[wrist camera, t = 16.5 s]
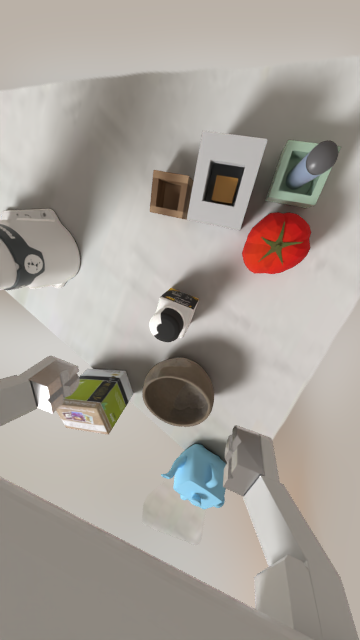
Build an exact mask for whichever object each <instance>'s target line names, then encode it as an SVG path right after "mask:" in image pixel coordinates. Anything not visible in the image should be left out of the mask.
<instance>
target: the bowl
mask: <svg viewBox="0 0 360 640" xmlns="http://www.w3.org/2000/svg"><path fill="white" fill-rule="evenodd" d="M143 400H144V403H145V405H146V406H147V408H148V409H149V410H150V411H151V412H152V413H153V414H154V415H155V416H156V417H158V418H159V419H160V420H162V421H164V422H166V423H168V424H171V425H174V426H184V427H189V426H194V425H197V424H200V423H201V422H203V421H204V420H205V419H206V418H207V417H208V416H209V414H210V413H211V411H212V407H213V403H214V390H213V385H212V382H211V380H210V378H209V376H208V375H207V373H206V372H205V370H204V369H203V368H202V367H201V366H200V365H199V364H197V363H196V362H194V361H192V360H189V359H186V358H173V359H168V360H165V361H162V362H160V363H158V364H156V365H155V366H154V367H153V368H152V369H151V370H150V371H149V373H148V374H147V376H146V378H145V381H144V385H143Z"/></svg>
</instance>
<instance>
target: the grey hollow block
mask: <svg viewBox="0 0 360 640" xmlns="http://www.w3.org/2000/svg"><path fill="white" fill-rule="evenodd" d="M267 140H268V139H264V138H256V137H248V136H241V135H233V134H225V133H218V132H210V131H202V136H201V142H200V148H199V153H198V159H197V165H196V170H195V176H194V181H193V187H192V193H191V198H190V204H189V209H188V215H187V220H191V221H196V222H201V223H205V224H210V225H215V226H220V227H224V228H229V229H234V230H239V231H240V229H241V226H242V222H243V219H244V216H245V212H246V209H247V206H248V202H249V199H250V196H251V193H252V189H253V186H254V183H255V179H256V176H257V173H258V170H259V166H260V163H261V160H262V156H263V153H264V150H265V147H266V143H267ZM217 175H220V176H226V177H232V178H238V185H237V189H236V192H235V196H234V200H233V203H232V205H227V204H222V203H216V202H213V201H212V200H211V199H212V195H213V190H214V186H215V181H216V177H217Z"/></svg>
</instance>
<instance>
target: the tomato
mask: <svg viewBox="0 0 360 640" xmlns="http://www.w3.org/2000/svg"><path fill="white" fill-rule="evenodd" d="M310 234H311V230H310V227H309V225H308V223H307V222H306V221H305V220H304V219H303V218H302V217H300V216H299V215H297V214H294V213H284V214H283V213H279V212H277V213H270V214H268V215H267V216H266V217H264V218H263V219H262V220H261V221H260V222H259V223H258V224H256V225H255V226H254V227H253V228H252V230H251V231H250V233H249V235H248V237H247V240H246V243H245V246H244V249H243V252H242V255H243V260H244V263H245V265H246V267H247V268H248V269H249V270H250V271H251V272H253V273H268V274H275V273H281V272H283V271H285V270H288V269H290V268H293V267H294V266H296V265H297V264H298V263H300V262H301V261H302V260H303V259H304V258H305V257H306V256H307V254H308V252H309V250H310V243H309V238H310Z"/></svg>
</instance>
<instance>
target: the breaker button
mask: <svg viewBox="0 0 360 640" xmlns="http://www.w3.org/2000/svg"><path fill="white" fill-rule="evenodd" d="M237 185H238V178H232V177H226V176H220V175H217V177H216V181H215V186H214V190H213V195H212V199H211V200H212V201H213V202H216V203H222V204H227V205H232V203H233V200H234V196H235V192H236V189H237Z"/></svg>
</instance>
